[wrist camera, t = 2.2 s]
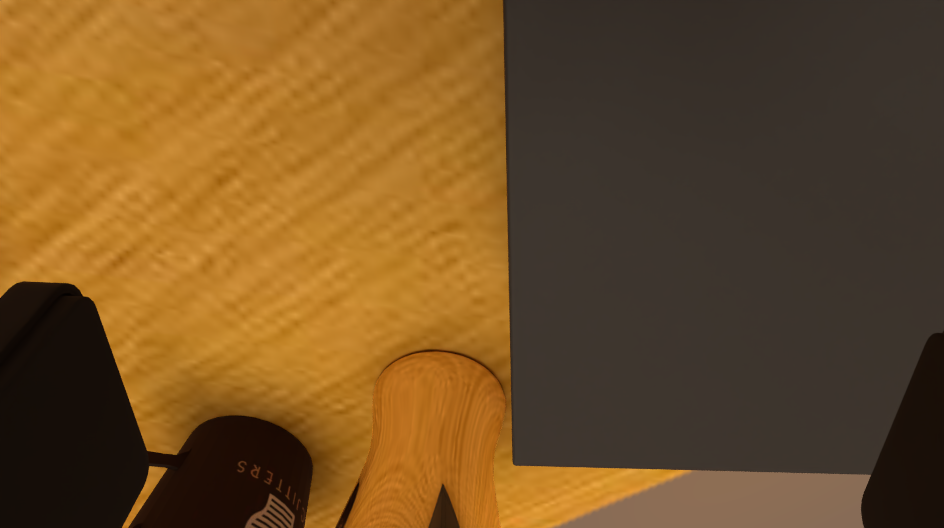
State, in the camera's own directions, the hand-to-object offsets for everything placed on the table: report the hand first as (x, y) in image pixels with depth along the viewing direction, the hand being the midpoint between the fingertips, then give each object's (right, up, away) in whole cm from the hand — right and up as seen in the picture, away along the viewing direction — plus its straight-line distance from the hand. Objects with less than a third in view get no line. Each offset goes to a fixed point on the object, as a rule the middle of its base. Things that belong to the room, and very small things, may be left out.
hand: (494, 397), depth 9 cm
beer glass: (-2, -5, +27) cm, 28 cm away
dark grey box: (+8, +7, +18) cm, 21 cm away
